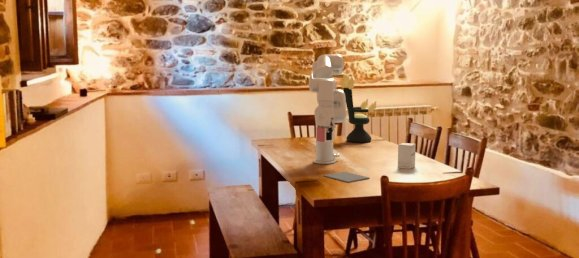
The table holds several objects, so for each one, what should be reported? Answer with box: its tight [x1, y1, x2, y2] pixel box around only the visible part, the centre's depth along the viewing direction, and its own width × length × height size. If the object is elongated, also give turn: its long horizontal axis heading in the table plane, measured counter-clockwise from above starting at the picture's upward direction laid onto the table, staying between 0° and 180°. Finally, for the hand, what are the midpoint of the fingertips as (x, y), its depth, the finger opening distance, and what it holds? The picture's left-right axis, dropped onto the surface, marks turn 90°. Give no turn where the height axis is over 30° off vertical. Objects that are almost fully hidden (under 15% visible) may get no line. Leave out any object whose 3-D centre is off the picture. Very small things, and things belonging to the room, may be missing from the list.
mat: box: [323, 171, 370, 184], centre depth 303 cm, size 14×18×1 cm
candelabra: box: [340, 74, 377, 144], centre depth 410 cm, size 19×22×45 cm
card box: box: [317, 127, 336, 142], centre depth 313 cm, size 8×4×7 cm, turn 125°
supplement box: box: [397, 142, 417, 170], centre depth 327 cm, size 7×7×13 cm
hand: (325, 139), depth 314 cm, fingers closed on card box, 4 cm apart
